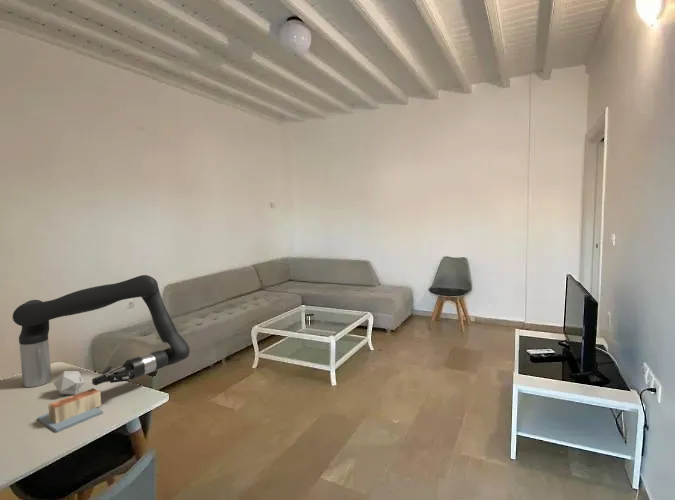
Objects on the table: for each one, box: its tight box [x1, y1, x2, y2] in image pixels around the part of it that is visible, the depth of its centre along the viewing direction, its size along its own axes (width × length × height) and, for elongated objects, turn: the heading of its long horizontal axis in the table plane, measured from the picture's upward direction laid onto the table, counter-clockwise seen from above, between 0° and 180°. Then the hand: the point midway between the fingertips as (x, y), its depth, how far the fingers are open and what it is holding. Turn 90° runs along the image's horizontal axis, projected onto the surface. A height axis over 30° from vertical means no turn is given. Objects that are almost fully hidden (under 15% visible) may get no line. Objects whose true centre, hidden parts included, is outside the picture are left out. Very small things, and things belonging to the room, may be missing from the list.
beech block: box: [47, 388, 102, 423], centre depth 135 cm, size 5×5×14 cm
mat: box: [37, 407, 104, 433], centre depth 134 cm, size 14×14×1 cm
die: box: [53, 370, 86, 396], centre depth 151 cm, size 8×9×10 cm
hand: (93, 382), depth 140 cm, fingers closed
